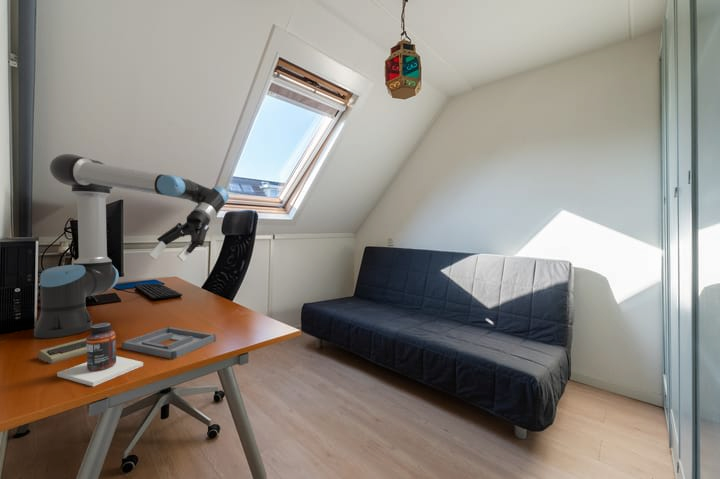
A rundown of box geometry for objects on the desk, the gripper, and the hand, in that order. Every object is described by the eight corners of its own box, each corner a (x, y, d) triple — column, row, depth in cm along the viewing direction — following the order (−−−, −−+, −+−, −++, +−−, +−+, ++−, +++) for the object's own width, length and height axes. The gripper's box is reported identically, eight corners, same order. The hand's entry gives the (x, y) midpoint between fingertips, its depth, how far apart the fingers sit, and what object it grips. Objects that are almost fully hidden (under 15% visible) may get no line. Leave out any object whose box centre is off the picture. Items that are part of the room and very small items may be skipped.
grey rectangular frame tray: (121, 348, 96) (121, 342, 96) (168, 332, 111) (168, 326, 111) (173, 359, 89) (173, 352, 89) (216, 340, 104) (216, 334, 104)
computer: (51, 366, 84) (50, 354, 84) (37, 360, 88) (37, 348, 88) (116, 346, 99) (116, 336, 99) (102, 342, 102) (102, 332, 102)
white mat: (57, 376, 78) (57, 372, 78) (109, 357, 89) (109, 354, 89) (93, 386, 73) (93, 382, 73) (143, 365, 84) (143, 362, 84)
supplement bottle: (112, 359, 85) (112, 320, 85) (119, 366, 82) (118, 324, 81) (84, 367, 81) (83, 325, 80) (90, 374, 77) (89, 330, 77)
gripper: (231, 223, 118) (199, 266, 105) (183, 223, 126) (147, 262, 113) (221, 209, 113) (186, 252, 99) (171, 209, 121) (132, 249, 108)
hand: (165, 258), depth 106 cm, fingers open, 13 cm apart
